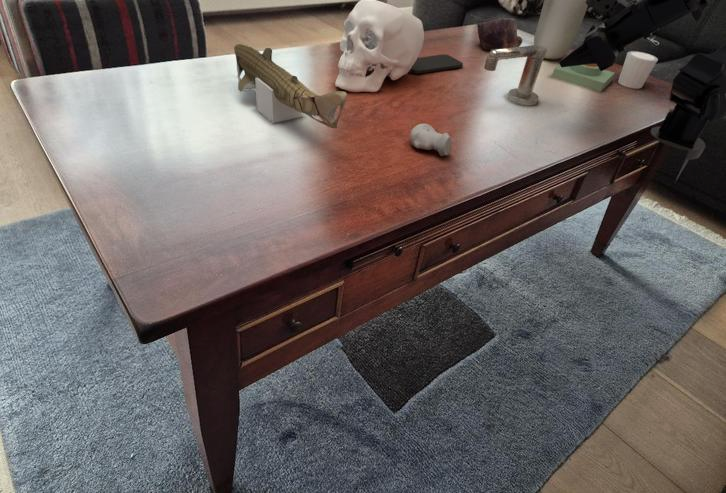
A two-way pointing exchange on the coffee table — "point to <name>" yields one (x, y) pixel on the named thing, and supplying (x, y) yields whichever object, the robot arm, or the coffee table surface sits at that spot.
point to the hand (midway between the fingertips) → (560, 64)
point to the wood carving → (283, 90)
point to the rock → (498, 34)
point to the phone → (435, 64)
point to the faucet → (527, 83)
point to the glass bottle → (559, 26)
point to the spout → (513, 54)
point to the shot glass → (636, 69)
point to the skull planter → (377, 45)
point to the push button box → (584, 76)
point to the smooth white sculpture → (430, 139)
